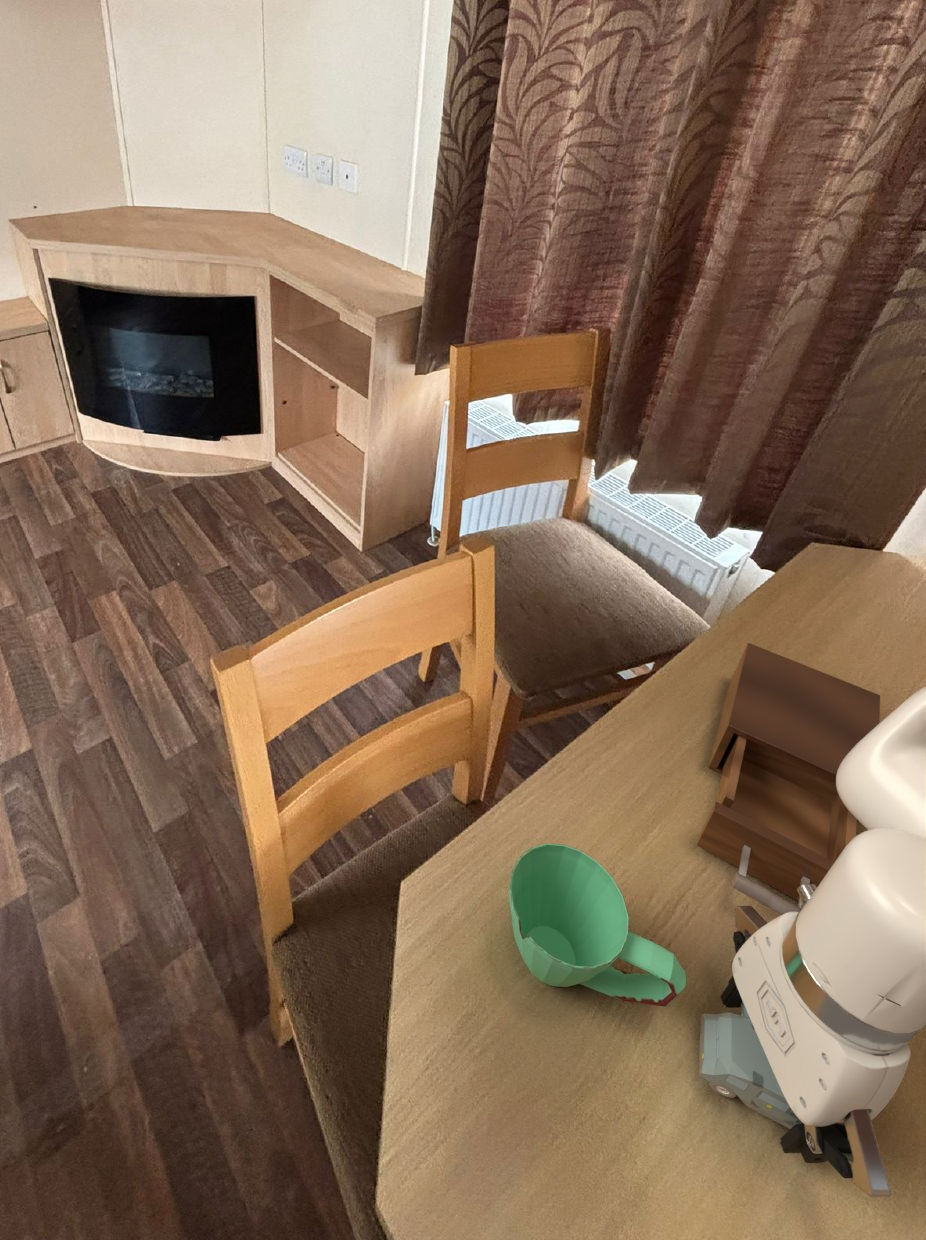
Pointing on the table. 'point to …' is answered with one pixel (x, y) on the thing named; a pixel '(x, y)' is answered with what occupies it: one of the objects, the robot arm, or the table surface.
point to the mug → (584, 929)
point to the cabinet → (794, 712)
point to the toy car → (741, 1065)
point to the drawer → (775, 823)
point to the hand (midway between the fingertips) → (768, 1069)
